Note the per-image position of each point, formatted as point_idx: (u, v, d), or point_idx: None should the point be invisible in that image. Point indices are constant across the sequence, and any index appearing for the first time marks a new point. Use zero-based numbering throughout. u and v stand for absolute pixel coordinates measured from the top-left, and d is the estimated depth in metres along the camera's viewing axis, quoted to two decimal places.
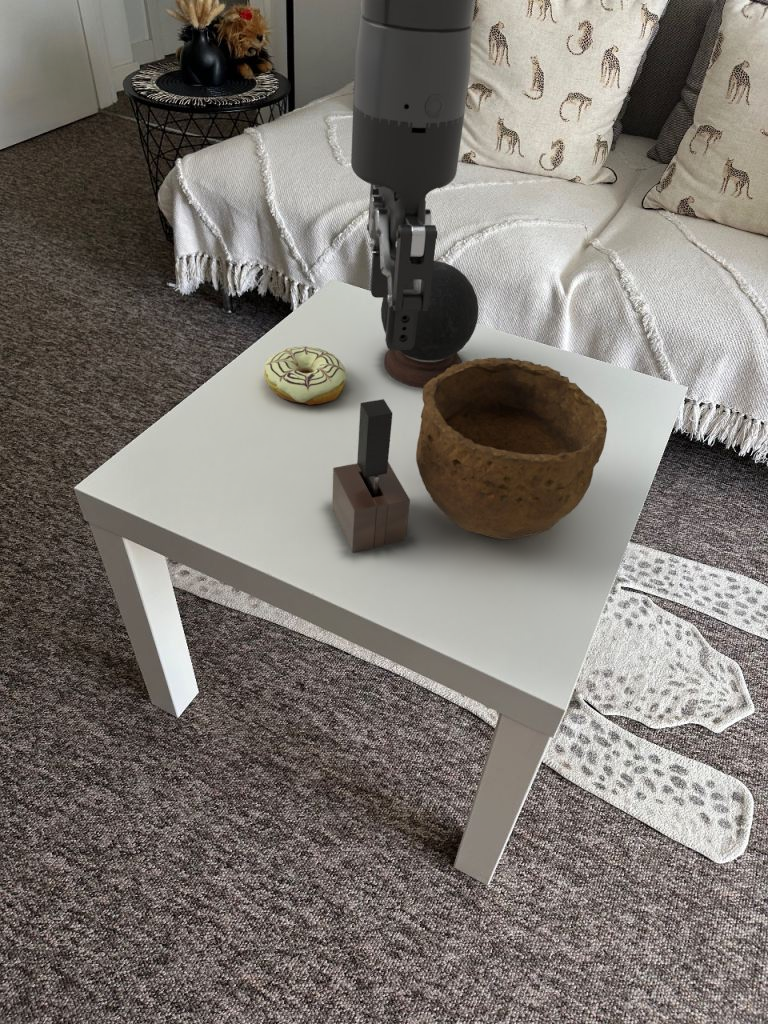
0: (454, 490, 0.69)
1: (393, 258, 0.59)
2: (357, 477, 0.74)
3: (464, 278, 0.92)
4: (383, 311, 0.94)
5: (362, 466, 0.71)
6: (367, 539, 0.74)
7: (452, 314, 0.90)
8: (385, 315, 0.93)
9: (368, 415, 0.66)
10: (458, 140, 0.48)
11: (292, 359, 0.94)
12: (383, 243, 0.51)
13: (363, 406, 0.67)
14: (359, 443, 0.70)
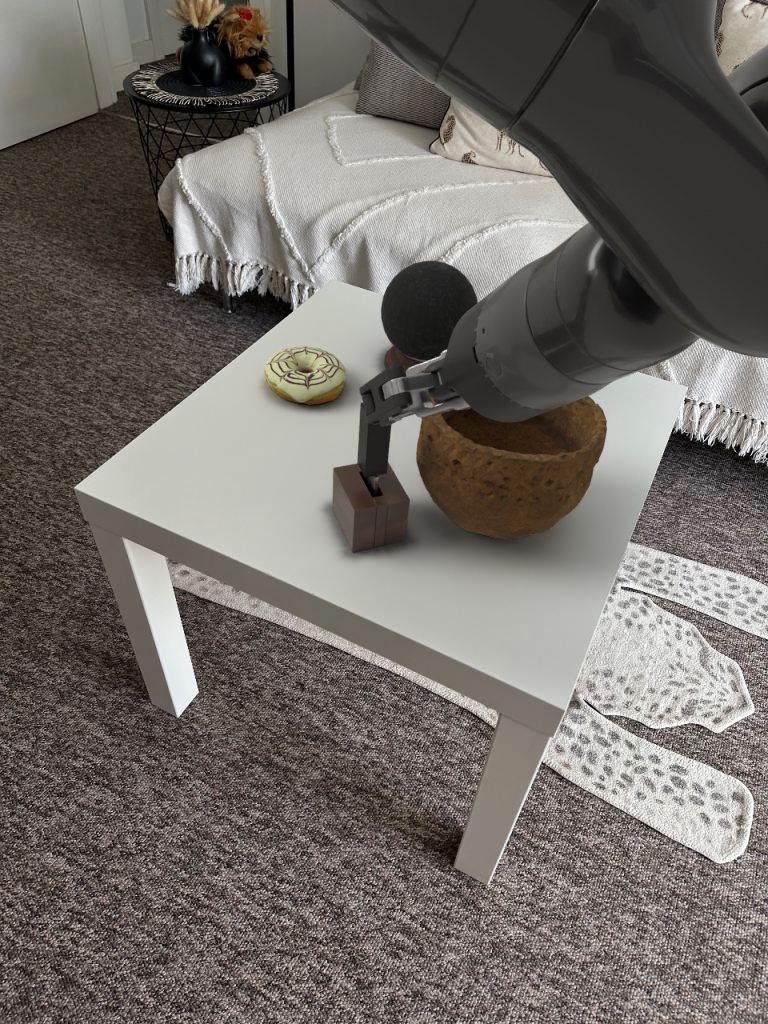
0: (454, 490, 0.69)
1: None
2: (357, 477, 0.74)
3: (464, 278, 0.92)
4: (383, 311, 0.94)
5: (362, 466, 0.71)
6: (367, 539, 0.74)
7: (452, 314, 0.90)
8: (385, 315, 0.93)
9: None
10: (508, 410, 0.40)
11: (292, 359, 0.94)
12: (429, 361, 0.46)
13: (363, 406, 0.67)
14: (359, 443, 0.70)
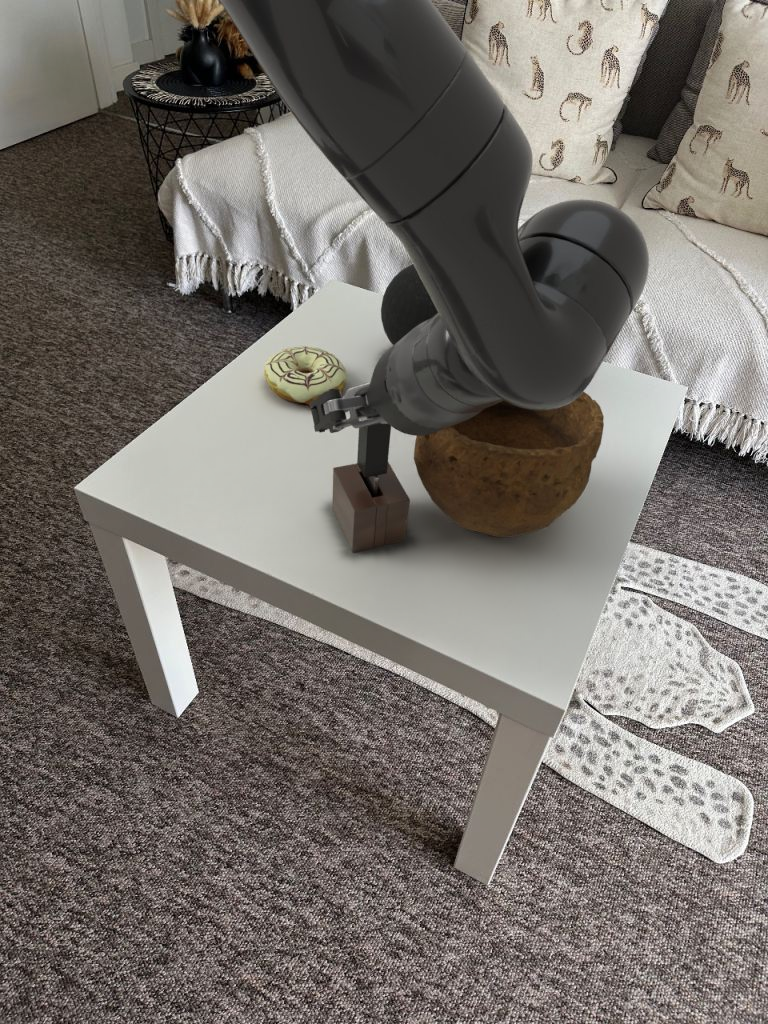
0: (451, 487, 0.69)
1: None
2: (357, 477, 0.74)
3: None
4: (383, 311, 0.94)
5: (362, 466, 0.71)
6: (367, 539, 0.74)
7: None
8: (385, 315, 0.93)
9: None
10: (412, 427, 0.53)
11: (292, 359, 0.94)
12: (362, 385, 0.59)
13: None
14: (359, 443, 0.70)
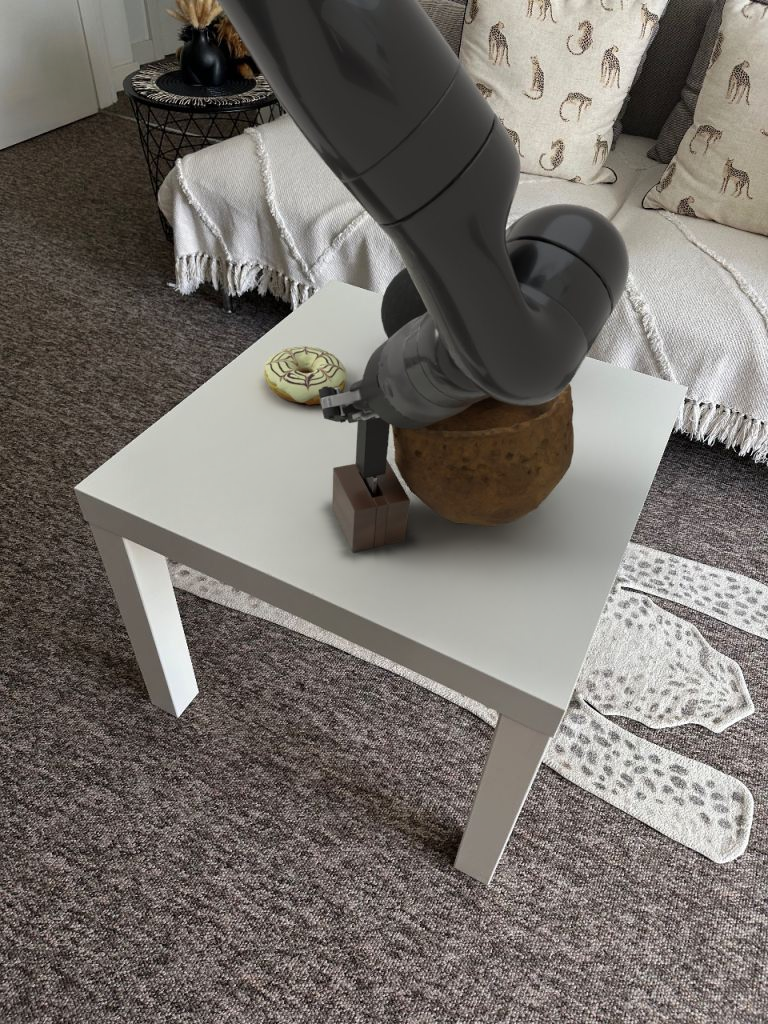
0: (424, 481, 0.69)
1: None
2: (357, 477, 0.74)
3: None
4: (383, 311, 0.94)
5: (360, 467, 0.71)
6: (367, 539, 0.74)
7: None
8: (385, 315, 0.93)
9: None
10: (403, 421, 0.55)
11: (292, 359, 0.94)
12: None
13: None
14: (357, 444, 0.70)
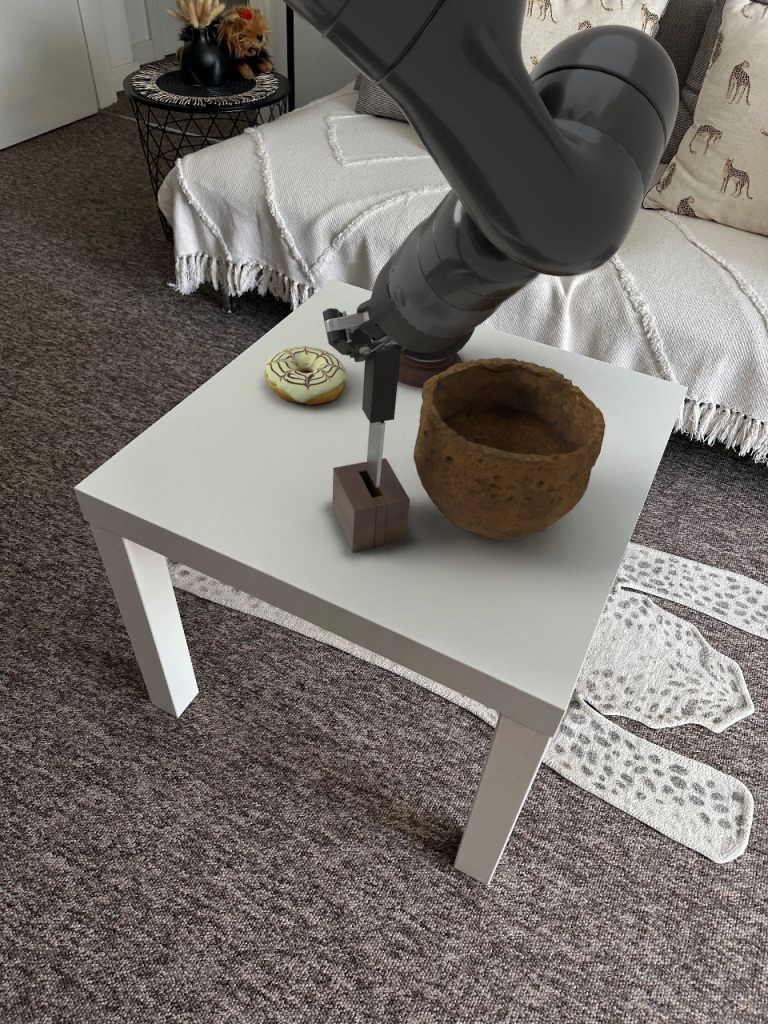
0: (446, 487, 0.69)
1: None
2: (357, 477, 0.74)
3: None
4: None
5: (367, 411, 0.65)
6: (367, 539, 0.74)
7: None
8: None
9: (374, 351, 0.61)
10: (416, 338, 0.49)
11: (292, 359, 0.94)
12: None
13: None
14: (364, 385, 0.65)
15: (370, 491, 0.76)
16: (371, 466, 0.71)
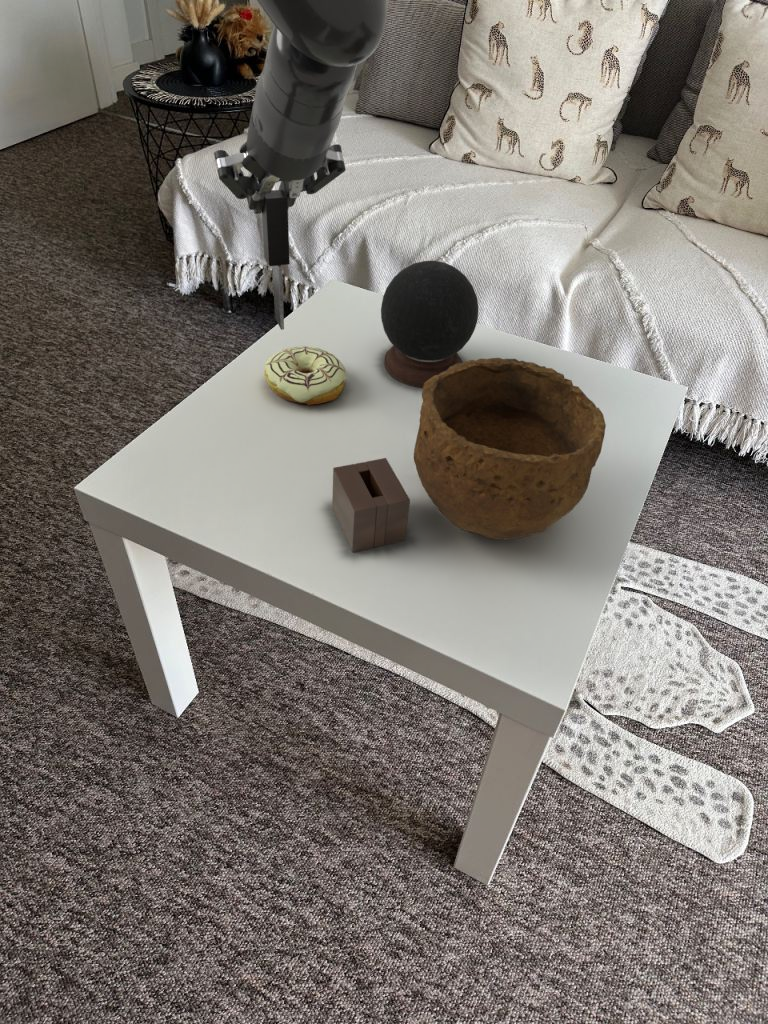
0: (446, 487, 0.69)
1: (285, 194, 0.77)
2: (357, 477, 0.74)
3: (464, 278, 0.92)
4: (383, 311, 0.94)
5: (267, 256, 0.81)
6: (367, 539, 0.74)
7: (452, 314, 0.90)
8: (385, 315, 0.93)
9: (265, 198, 0.76)
10: (277, 162, 0.64)
11: (292, 359, 0.94)
12: None
13: None
14: (263, 234, 0.80)
15: (370, 491, 0.76)
16: (277, 311, 0.86)
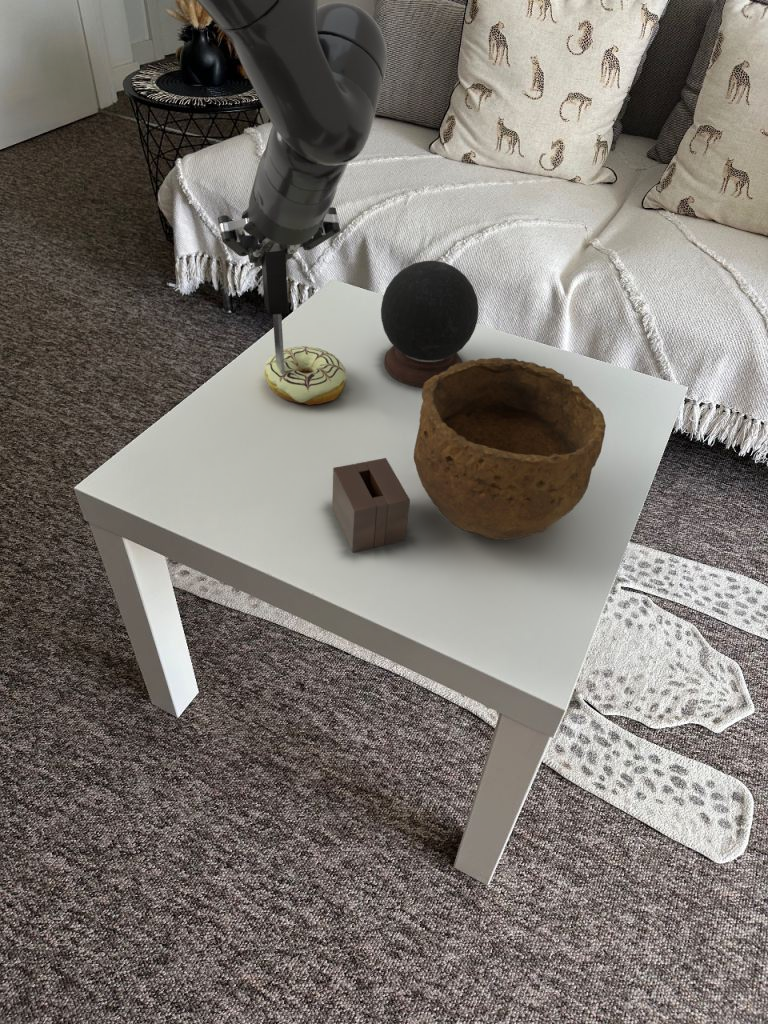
0: (446, 487, 0.69)
1: None
2: (357, 477, 0.74)
3: (464, 278, 0.92)
4: (383, 311, 0.94)
5: (267, 306, 0.85)
6: (367, 539, 0.74)
7: (452, 314, 0.90)
8: (385, 315, 0.93)
9: None
10: (277, 231, 0.70)
11: (292, 359, 0.94)
12: None
13: None
14: (263, 285, 0.85)
15: (370, 491, 0.76)
16: (278, 358, 0.90)
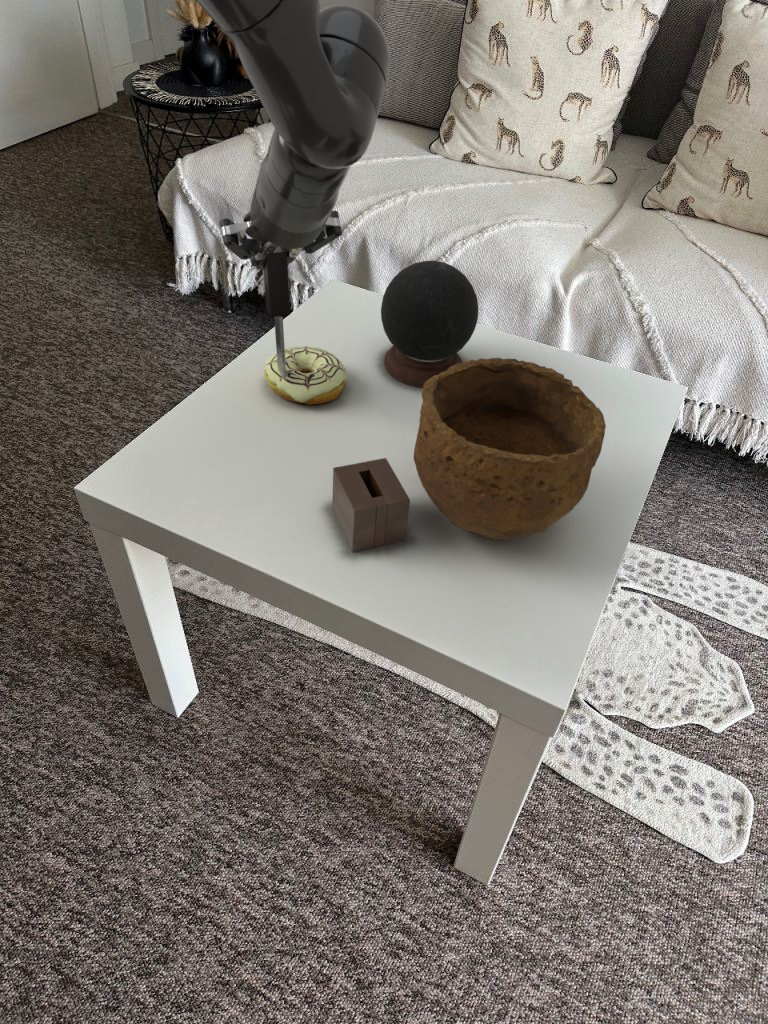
0: (446, 487, 0.69)
1: None
2: (357, 477, 0.74)
3: (464, 278, 0.92)
4: (383, 311, 0.94)
5: (268, 308, 0.85)
6: (367, 539, 0.74)
7: (452, 314, 0.90)
8: (385, 315, 0.93)
9: None
10: (279, 234, 0.69)
11: (292, 359, 0.94)
12: None
13: None
14: (265, 288, 0.84)
15: (370, 491, 0.76)
16: (279, 361, 0.90)
